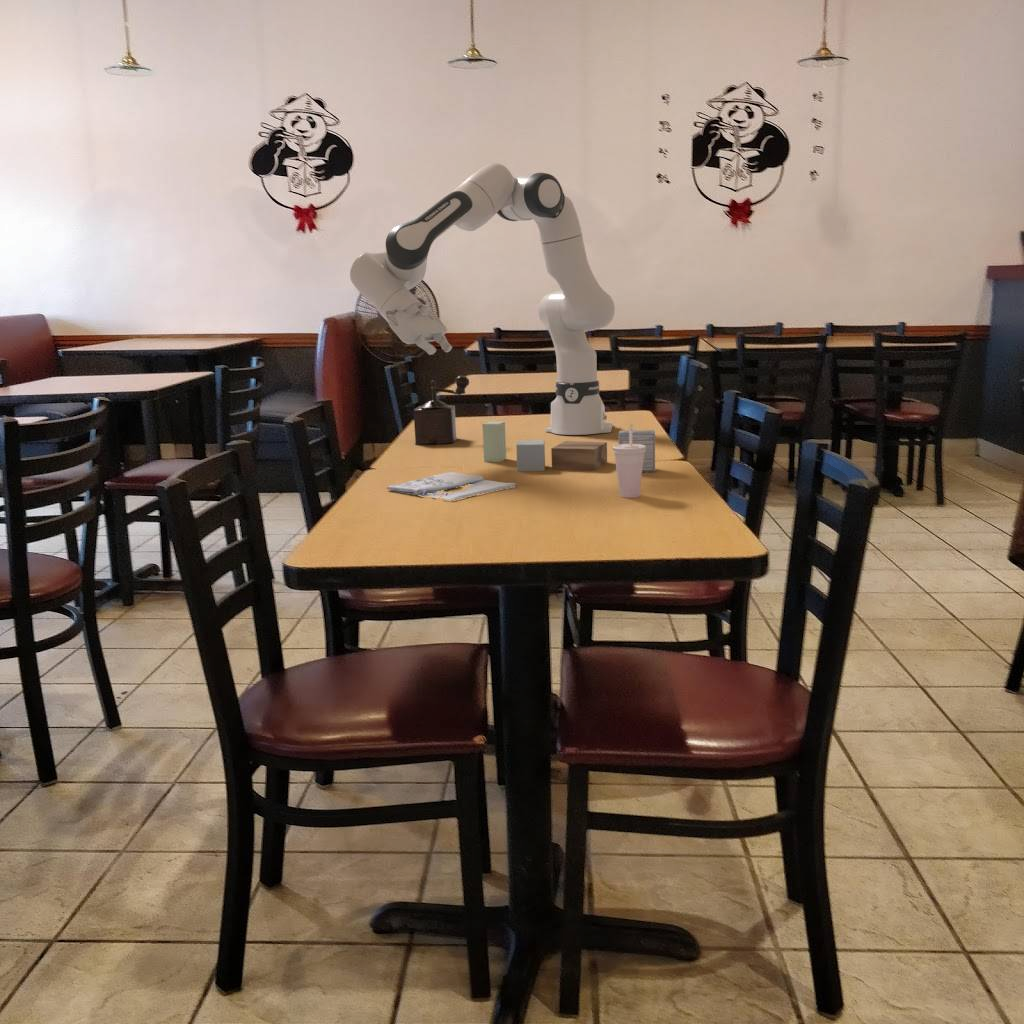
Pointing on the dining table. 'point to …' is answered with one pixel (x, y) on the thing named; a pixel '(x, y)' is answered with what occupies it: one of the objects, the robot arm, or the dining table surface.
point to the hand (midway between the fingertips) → (441, 351)
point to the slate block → (531, 455)
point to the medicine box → (645, 439)
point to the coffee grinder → (437, 417)
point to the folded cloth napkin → (449, 486)
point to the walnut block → (579, 455)
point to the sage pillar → (494, 441)
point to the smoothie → (629, 467)
